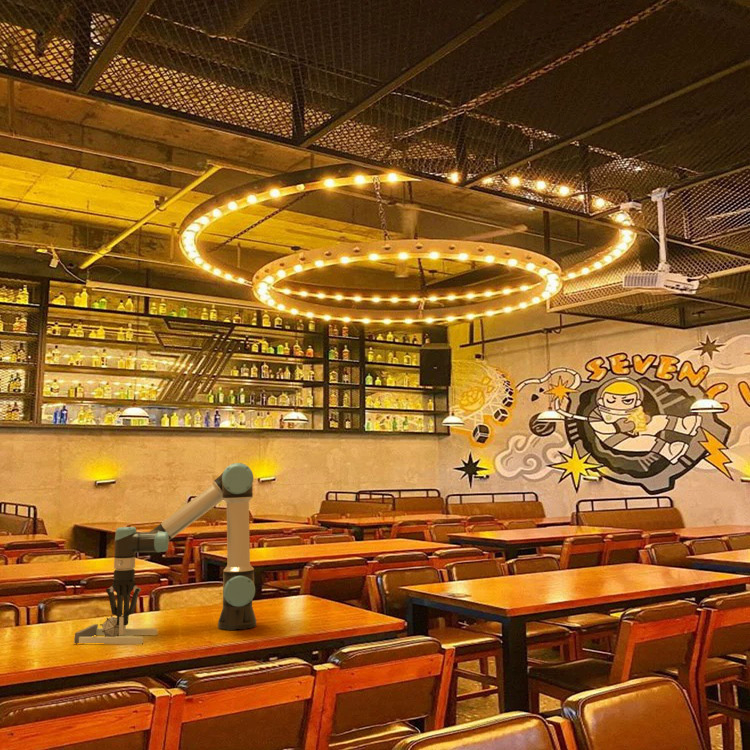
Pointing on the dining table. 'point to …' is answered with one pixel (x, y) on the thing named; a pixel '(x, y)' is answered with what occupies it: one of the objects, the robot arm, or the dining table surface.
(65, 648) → the dining table surface
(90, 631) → the tan piece
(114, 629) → the game die
